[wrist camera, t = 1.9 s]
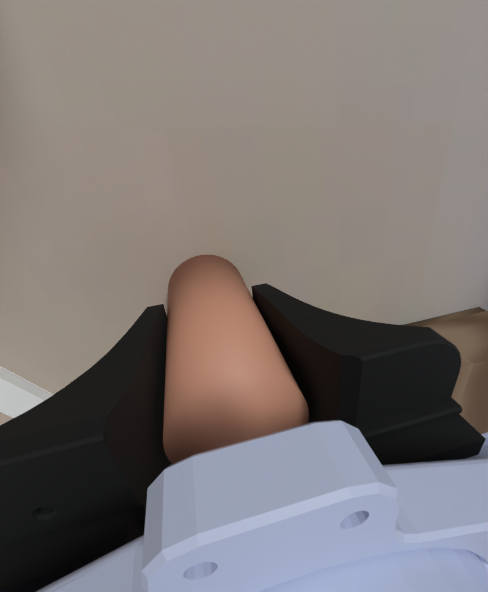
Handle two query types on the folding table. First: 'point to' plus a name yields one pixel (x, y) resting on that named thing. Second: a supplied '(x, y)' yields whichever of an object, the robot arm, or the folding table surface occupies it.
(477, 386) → the socket block
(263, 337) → the pin
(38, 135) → the folding table surface
